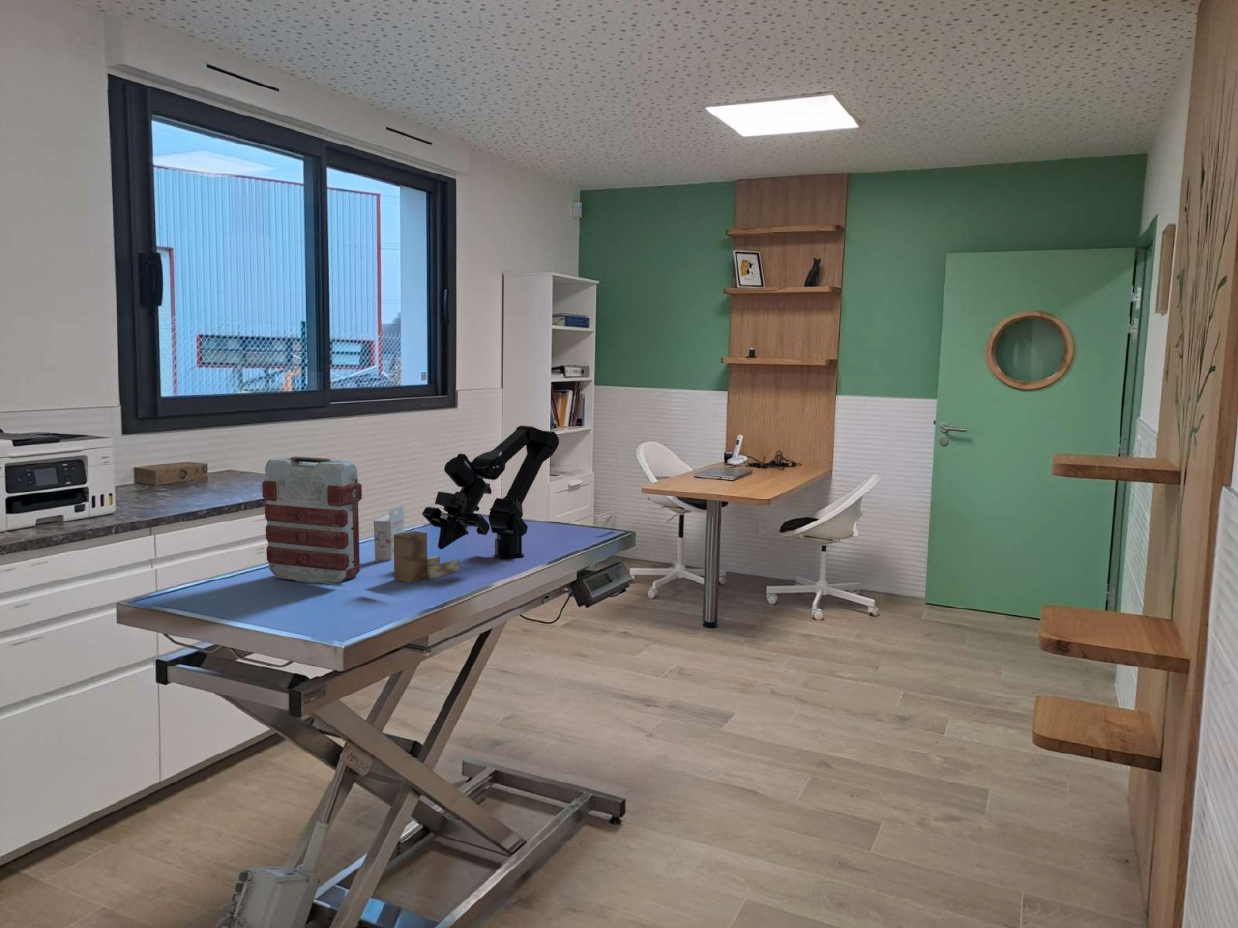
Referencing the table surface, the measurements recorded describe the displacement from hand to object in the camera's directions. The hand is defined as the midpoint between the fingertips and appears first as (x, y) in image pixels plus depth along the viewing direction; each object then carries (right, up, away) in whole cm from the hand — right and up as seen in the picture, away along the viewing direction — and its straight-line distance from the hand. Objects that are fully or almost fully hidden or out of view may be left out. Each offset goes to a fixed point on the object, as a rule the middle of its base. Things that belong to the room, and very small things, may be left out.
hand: (439, 548), depth 225 cm
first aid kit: (-30, -8, -5) cm, 31 cm away
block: (-5, -7, -7) cm, 11 cm away
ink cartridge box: (-16, -5, +15) cm, 23 cm away
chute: (-2, -7, -3) cm, 8 cm away
